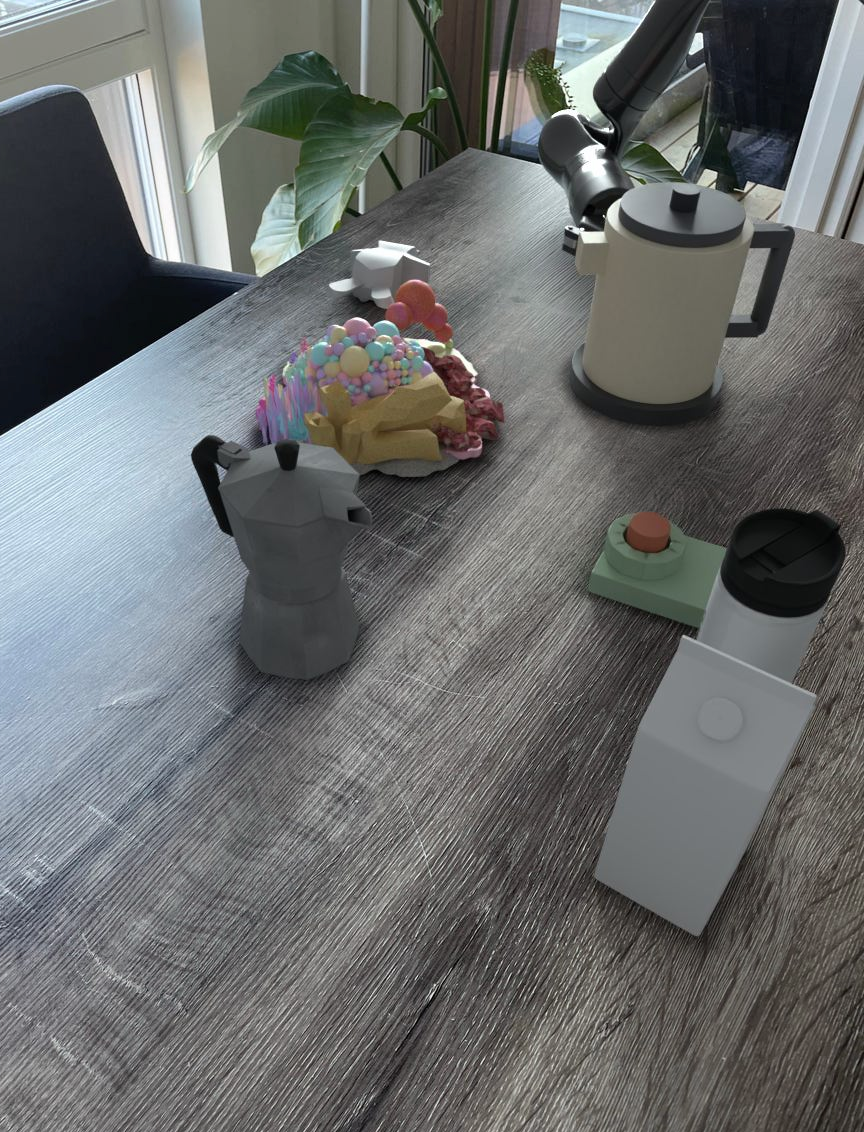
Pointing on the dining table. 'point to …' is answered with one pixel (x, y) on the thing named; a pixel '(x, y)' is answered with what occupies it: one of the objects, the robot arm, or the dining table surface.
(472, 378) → the pastel sphere sculpture
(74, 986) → the dining table surface
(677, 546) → the button base
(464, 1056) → the dining table surface
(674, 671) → the milk carton
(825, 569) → the travel mug
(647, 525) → the red button cap
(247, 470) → the coffeepot
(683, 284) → the kettle
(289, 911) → the dining table surface
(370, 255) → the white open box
